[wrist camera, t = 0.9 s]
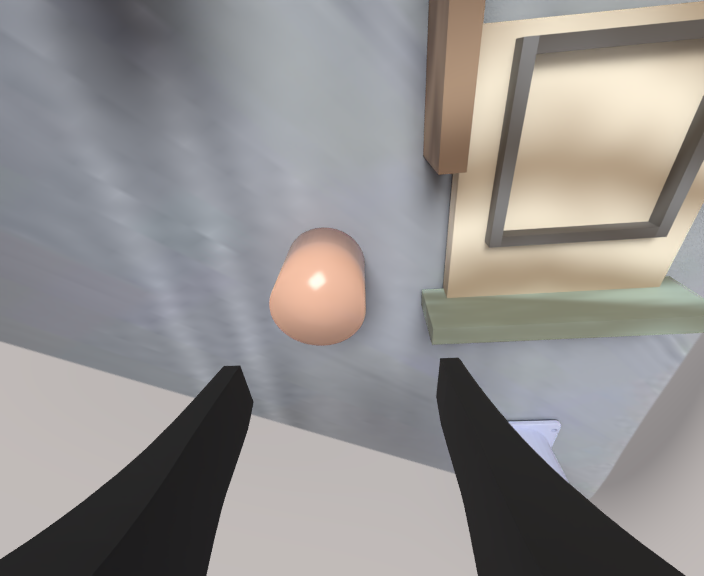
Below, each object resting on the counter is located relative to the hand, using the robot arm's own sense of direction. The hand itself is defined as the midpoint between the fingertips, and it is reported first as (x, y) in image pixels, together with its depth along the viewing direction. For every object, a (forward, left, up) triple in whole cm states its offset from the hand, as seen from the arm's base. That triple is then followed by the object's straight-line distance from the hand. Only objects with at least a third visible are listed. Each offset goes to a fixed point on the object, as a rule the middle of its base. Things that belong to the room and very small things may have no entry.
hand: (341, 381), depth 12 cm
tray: (+3, -12, -10) cm, 16 cm away
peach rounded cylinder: (-1, +2, -10) cm, 11 cm away
